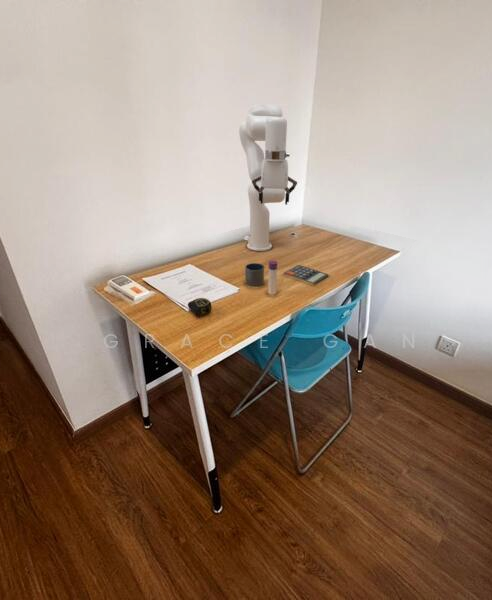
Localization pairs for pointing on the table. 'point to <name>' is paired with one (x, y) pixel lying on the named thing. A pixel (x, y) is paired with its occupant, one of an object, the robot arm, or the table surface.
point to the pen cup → (254, 274)
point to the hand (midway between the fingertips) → (273, 203)
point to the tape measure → (200, 306)
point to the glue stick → (272, 277)
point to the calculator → (306, 274)
